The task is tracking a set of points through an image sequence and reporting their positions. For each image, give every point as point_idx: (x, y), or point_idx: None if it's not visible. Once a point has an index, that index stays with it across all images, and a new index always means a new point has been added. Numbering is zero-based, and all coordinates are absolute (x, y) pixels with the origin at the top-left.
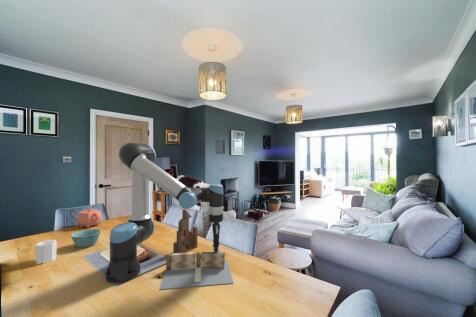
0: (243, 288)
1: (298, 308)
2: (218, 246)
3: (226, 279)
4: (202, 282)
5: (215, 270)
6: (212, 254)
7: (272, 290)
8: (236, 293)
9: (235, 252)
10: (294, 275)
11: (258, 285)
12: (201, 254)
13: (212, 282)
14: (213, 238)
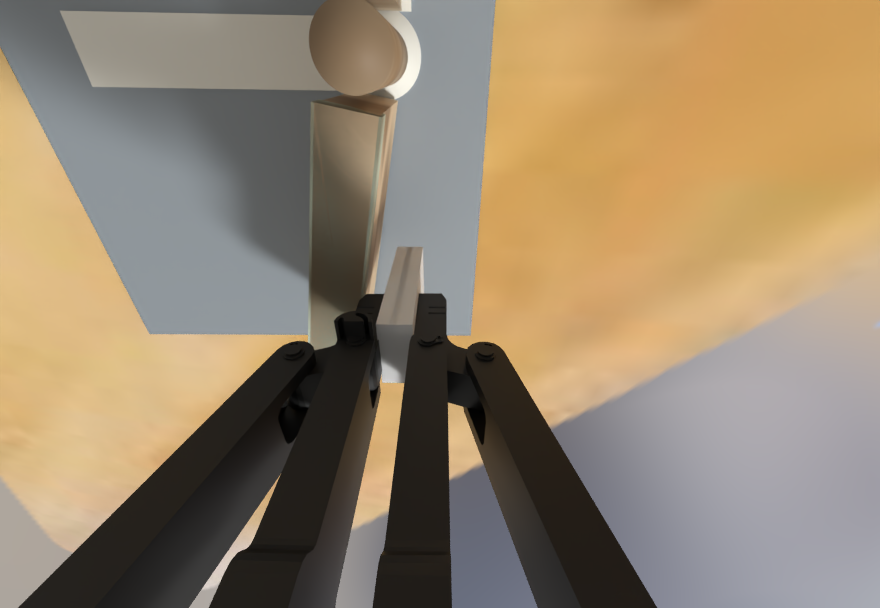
0: (115, 372)
1: (45, 505)
2: (383, 373)
3: (181, 299)
4: (79, 105)
5: (304, 233)
6: (310, 265)
7: (140, 468)
8: (48, 334)
9: (590, 391)
10: None
11: (168, 433)
12: (315, 106)
13: (110, 198)
14: (479, 387)
